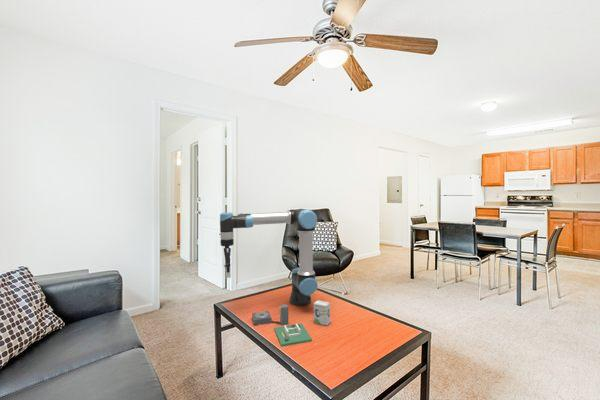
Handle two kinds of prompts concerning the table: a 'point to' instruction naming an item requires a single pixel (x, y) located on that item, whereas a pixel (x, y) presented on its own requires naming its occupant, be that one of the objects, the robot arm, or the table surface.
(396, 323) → the table surface
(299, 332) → the board
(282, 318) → the plug
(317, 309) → the ink box
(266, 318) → the speaker
